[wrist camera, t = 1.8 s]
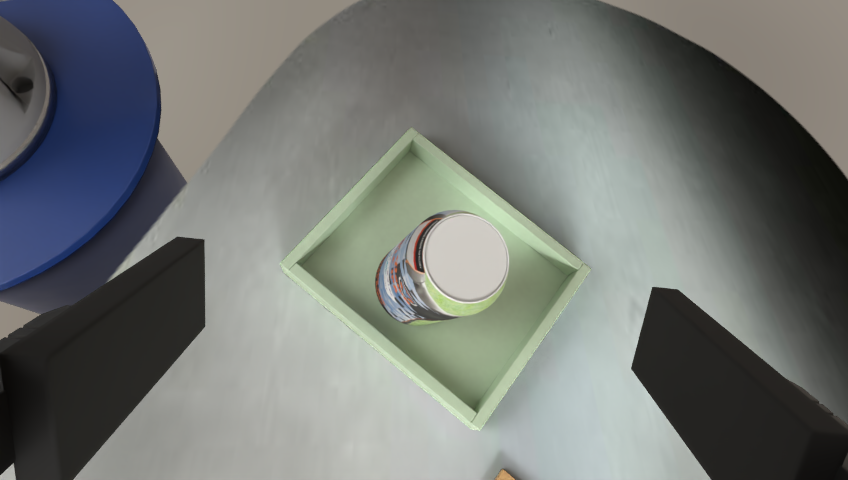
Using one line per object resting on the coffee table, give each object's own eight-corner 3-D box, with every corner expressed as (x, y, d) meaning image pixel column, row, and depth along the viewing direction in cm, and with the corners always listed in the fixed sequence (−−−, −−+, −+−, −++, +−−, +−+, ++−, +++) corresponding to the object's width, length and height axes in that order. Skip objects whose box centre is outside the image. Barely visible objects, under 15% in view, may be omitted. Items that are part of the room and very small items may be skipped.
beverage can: (396, 235, 40) (418, 166, 29) (482, 278, 40) (537, 226, 29) (357, 307, 38) (365, 264, 27) (448, 353, 38) (494, 329, 27)
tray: (282, 272, 38) (279, 263, 36) (407, 141, 43) (411, 126, 41) (471, 429, 37) (480, 431, 35) (578, 276, 42) (592, 268, 39)
